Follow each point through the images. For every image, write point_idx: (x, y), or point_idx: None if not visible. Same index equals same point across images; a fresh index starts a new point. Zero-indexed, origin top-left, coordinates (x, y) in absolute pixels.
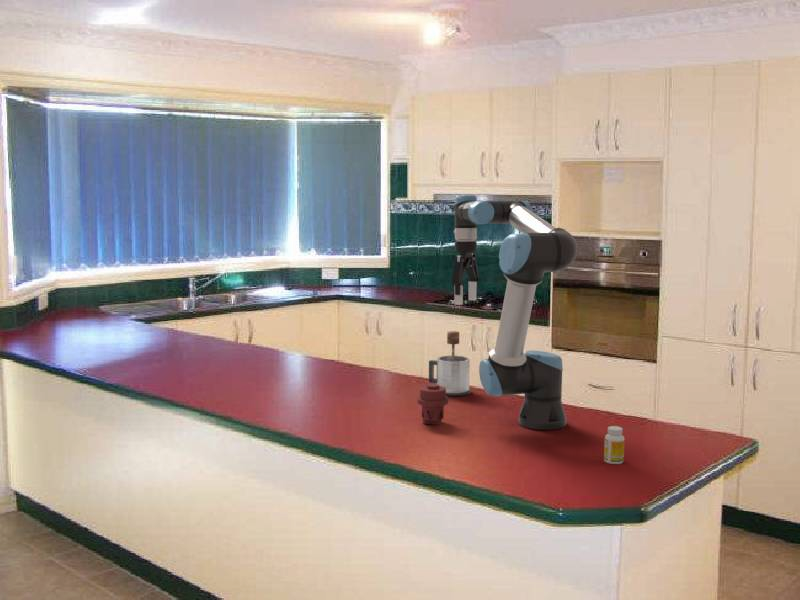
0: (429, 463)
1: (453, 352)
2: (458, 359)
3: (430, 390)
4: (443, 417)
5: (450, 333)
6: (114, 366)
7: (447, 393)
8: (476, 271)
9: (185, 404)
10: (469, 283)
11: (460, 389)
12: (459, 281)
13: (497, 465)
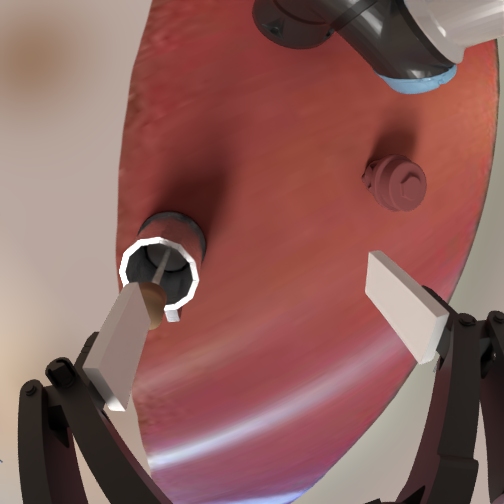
0: (484, 122)
1: (157, 282)
2: (128, 275)
3: (422, 184)
4: (377, 160)
5: (161, 314)
6: (283, 491)
7: (203, 240)
8: (43, 443)
9: (377, 417)
10: (125, 395)
11: (185, 222)
12: (500, 321)
13: (463, 55)
